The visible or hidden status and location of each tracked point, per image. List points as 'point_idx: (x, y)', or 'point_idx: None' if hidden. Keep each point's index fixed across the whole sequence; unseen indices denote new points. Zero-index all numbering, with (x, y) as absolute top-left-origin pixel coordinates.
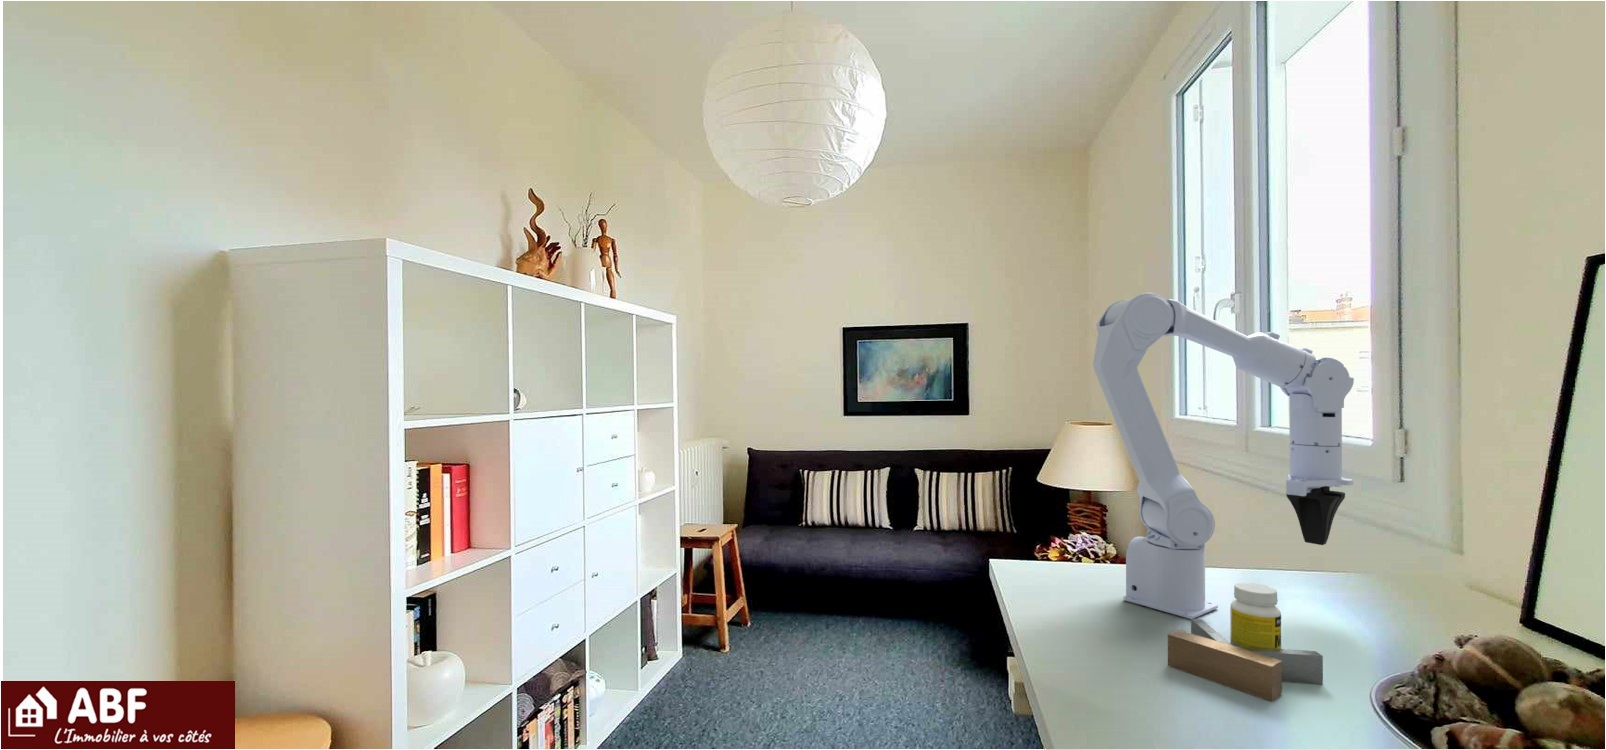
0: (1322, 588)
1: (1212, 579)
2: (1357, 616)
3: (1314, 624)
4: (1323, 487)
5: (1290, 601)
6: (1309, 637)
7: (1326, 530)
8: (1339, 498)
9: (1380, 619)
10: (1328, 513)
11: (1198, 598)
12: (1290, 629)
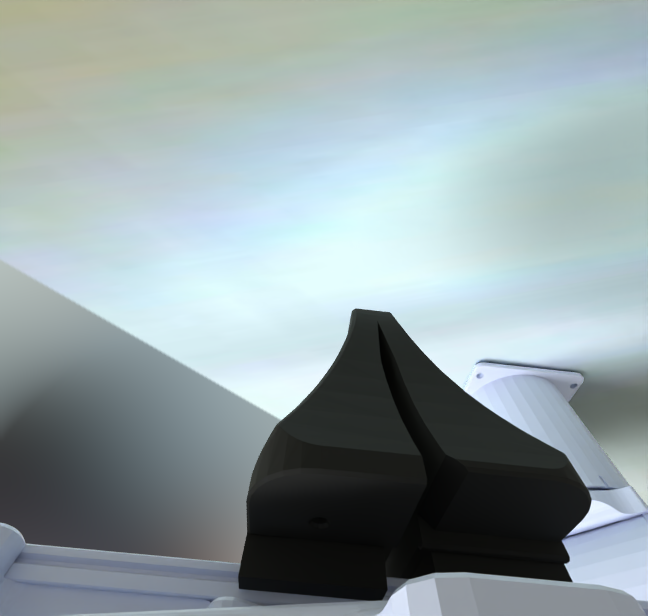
0: (141, 261)
1: (277, 403)
2: (321, 163)
3: (463, 223)
4: (346, 591)
5: (315, 287)
6: (572, 213)
7: (406, 339)
8: (415, 450)
9: (303, 115)
10: (468, 397)
11: (553, 394)
12: (534, 250)
